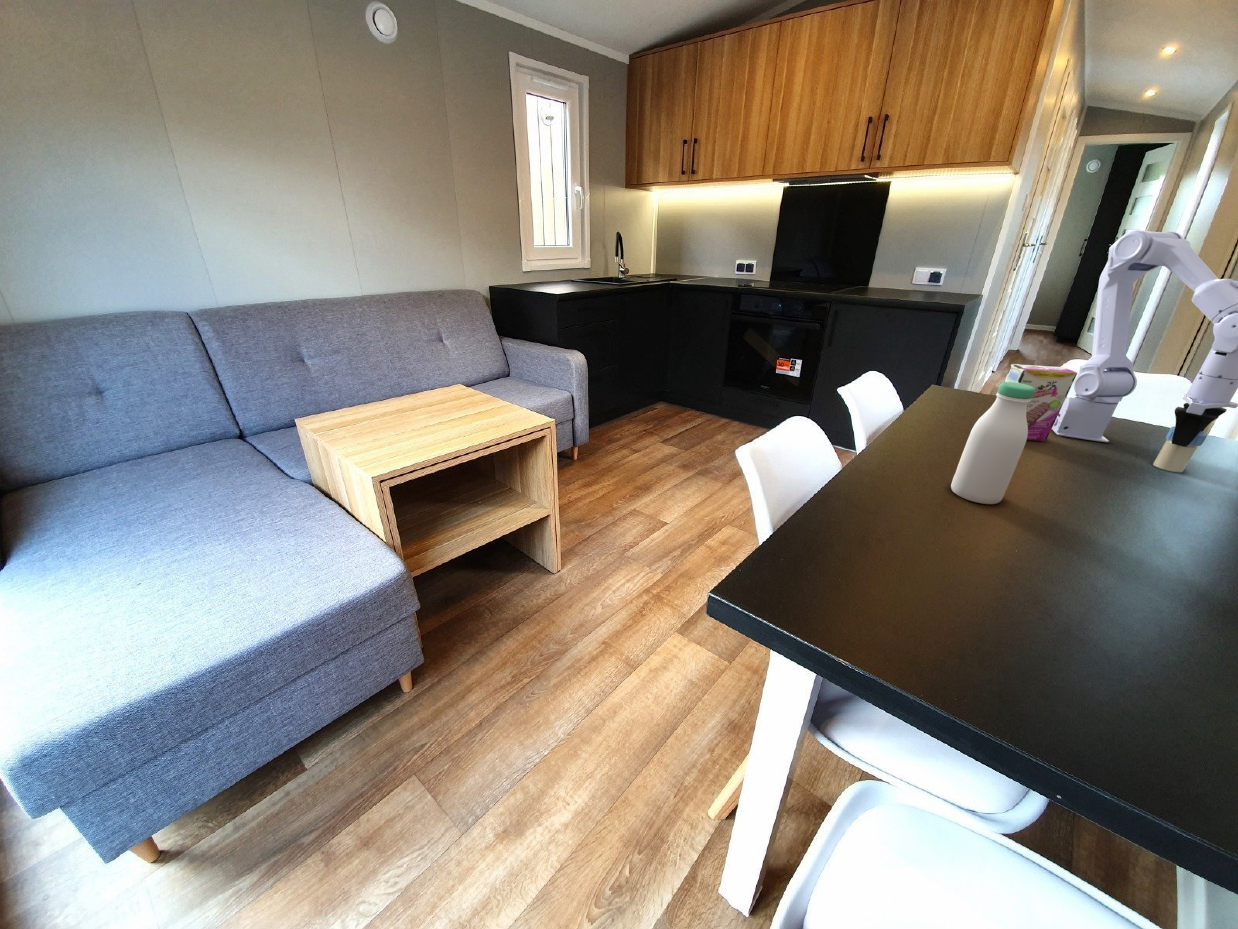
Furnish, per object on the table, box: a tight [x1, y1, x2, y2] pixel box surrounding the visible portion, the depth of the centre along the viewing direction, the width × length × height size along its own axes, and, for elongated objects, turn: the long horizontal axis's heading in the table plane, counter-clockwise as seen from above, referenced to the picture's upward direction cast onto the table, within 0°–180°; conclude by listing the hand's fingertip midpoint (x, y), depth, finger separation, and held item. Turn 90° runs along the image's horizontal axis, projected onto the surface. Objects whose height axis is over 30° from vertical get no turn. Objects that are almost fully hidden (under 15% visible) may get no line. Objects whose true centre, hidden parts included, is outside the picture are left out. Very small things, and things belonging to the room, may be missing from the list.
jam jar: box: [1152, 439, 1199, 473], centre depth 99 cm, size 4×4×8 cm
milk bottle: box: [950, 381, 1035, 505], centre depth 82 cm, size 8×8×20 cm
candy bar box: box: [1004, 363, 1078, 443], centre depth 110 cm, size 11×5×16 cm, turn 84°
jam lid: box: [1164, 426, 1208, 447], centre depth 97 cm, size 5×5×2 cm
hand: (1182, 442), depth 98 cm, fingers closed on jam lid, 5 cm apart
